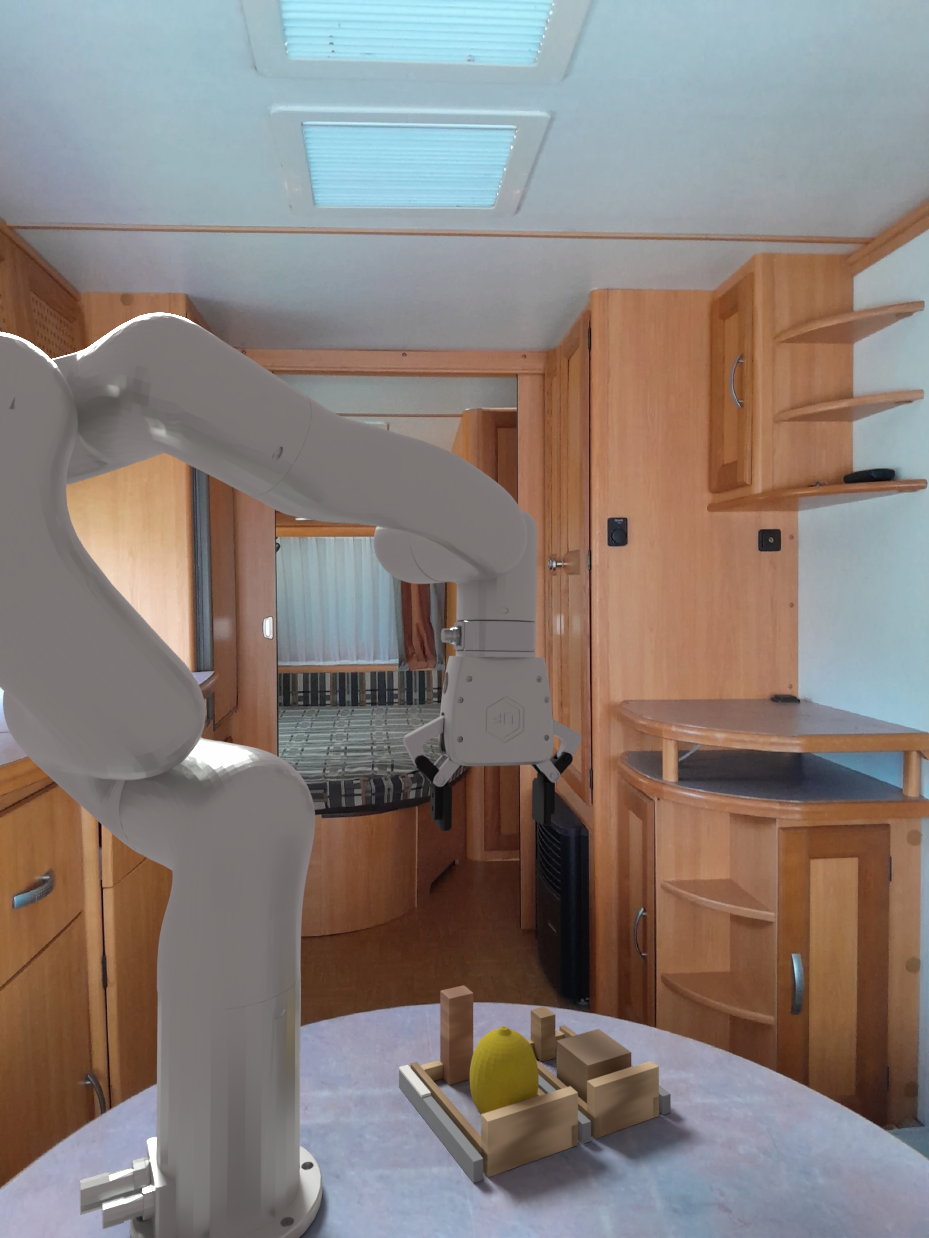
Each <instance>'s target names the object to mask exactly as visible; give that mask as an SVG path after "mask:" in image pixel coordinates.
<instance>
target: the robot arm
mask: <svg viewBox="0 0 929 1238" xmlns="http://www.w3.org/2000/svg"><path fill="white" fill-rule="evenodd" d="M162 454H166V455H169V456H171V457H173V458H175V459H177V460H179V461H181V462H183V463H185V464H187V465H189V466H190V467H192V468H194V469H196V470H199V471H201V472H203V473H205V474H206V475H208V476H210V477H212V478H214V479H217V480H218V481H220V482H223V483H224V484H226V485H228V486H230V487H231V488H233V489H236V490H238V491H240V492H241V493H243V494H245V495H247V496H248V497H250V498H253V499H255V500H256V501H258V502H260V503H262V504H264V505H265V506H268V507H270V508H272V509H273V510H275V511H277V512H279V513H281V514H285V515H287V516H293V517H296V518H299V519H300V518H302V519H306V520H312V521H319V522H323V523H335V524H354V525H363V526H365V525H366V526H372V527H373V526H374V527H375V530H374V535H373V549H374V553H375V556H376V558H377V560H378V562H379V564H380V566H381V567H382V568H383V569H384V570H385V571H386V572H387V573H388V574H389V575H391V576H392V577H393V578H396V579H397V580H400V581H402V582H405V583H408V584H415V585H425V584H426V585H428V584H440V583H450V582H451V583H455V585H456V616H455V617H456V621H455V622H454V623H453V625H452V626H450V627H449V628H447V627H446V628H441V630H440V631H441V632H440V641H441V643H447V644H448V643H449V645H452V647H453V650H455V655H449V656H448V659H447V665H446V669H445V673H444V678H443V684H442V685H443V686H442V694H441V700H440V701H441V702H440V711H439V716H438V717H436V718H434V719H432V720H431V721H429V722H427V723H425V724H423V725H422V726H419V727H418V728H415V729H413V730H412V731H410V732H409V733H407V734H405V735H404V736H403V737H402V744H403V746H404V747H405V749H406V752H407V754H408V755H409V757H410V759H411V761H412V765H413V766H415V768H416V769H417V770H418V771H419V772H420V773H421V774H422V775H423V776H424V777H425V778H426V779H427V780H428V781H429V782H430V811H429V812H430V817H431V820H432V821H435V825H436V826H437V827H438V828H439V829H440V830H441V831H442V832H450V830H452V828H453V827H452V821H453V819H452V817H453V816H452V815H453V788H452V787H451V786H450V785H449V780H450V779H451V777H452V776H453V774H455V772H456V771H457V770H458V768H459V767H460V766H465V767H496V766H498V767H502V766H526V765H527V766H530V767H531V768H532V769H533V770H534V772H535V773H536V777H534V778H533V780H532V783H531V784H532V785H531V787H532V788H531V789H532V790H531V792H532V793H531V794H532V795H531V818H532V820H534V821H535V822H537V823H538V824H540V825H542V826H545V827H547V826H548V827H550V826H551V825H552V815H554V814H555V811H556V810H555V809H556V806H555V805H556V783H557V782H559V780H560V779H561V775H562V774H563V773H564V772H566V771H565V770H566V769H568V767H569V766H570V765H571V764H572V763H573V760H574V759H573V758H574V755H575V754H576V752H577V750H578V748H579V746H580V744H581V742H582V740H583V739H582V735H581V734H580V733H579V732H577V731H575V730H573V729H572V728H569V727H568V726H566V725H564V724H562V723H560V722H559V721H557V720H556V719H553V709H552V708H553V707H552V697H551V696H552V695H551V689H550V681H549V676H548V669H547V665H546V659H545V657H541V656H540V657H539V656H536V651H537V650H536V648H537V645H536V644H537V642H536V641H537V638H536V637H537V632H536V631H537V629H536V628H537V622H536V621H537V579H538V578H537V575H538V573H537V566H538V565H537V563H538V562H537V561H538V560H537V559H538V557H537V556H538V555H537V553H538V526H537V522H536V521H535V519H534V517H533V516H532V515H531V514H530V513H529V512H527V511H523V510H522V509H521V508H520V506H519V503H517V501H516V500H515V498H514V497H513V496H512V494H510V493H509V492H508V491H507V490H506V489H505V488H504V487H503V486H502V485H501V484H499V483H498V482H497V481H496V480H495V479H493V478H492V477H490V476H489V475H488V474H486V473H485V472H483V471H482V470H481V469H479V468H478V467H476V466H475V465H473V464H472V463H470V462H469V461H467V460H466V459H465V458H463V457H461V456H459V455H458V454H456V453H454V452H451V451H449V450H448V449H445V448H443V447H440V446H437V445H435V444H433V443H430V442H427V441H424V440H420V439H418V438H414V437H411V436H408V435H404V434H401V433H397V432H394V431H392V430H388V429H385V428H382V427H380V426H377V425H374V424H369V423H367V422H361V421H357V420H353V419H351V418H346V417H343V416H341V415H339V414H337V413H335V412H333V411H331V410H330V409H328V408H327V407H325V406H323V405H322V404H321V403H319V402H317V401H316V400H314V399H312V398H311V397H309V395H307V394H305V393H303V392H302V391H300V390H299V389H297V388H296V387H294V386H293V385H291V384H290V383H288V382H287V381H285V380H284V379H282V378H280V377H279V376H277V375H276V374H274V373H273V372H272V371H270V370H268V369H267V368H265V367H264V366H262V365H261V364H259V363H258V362H257V361H255V360H253V359H252V358H250V357H249V356H247V355H245V354H244V353H242V352H241V351H240V350H238V349H236V348H234V347H233V346H231V345H230V344H229V343H227V342H225V341H224V340H222V339H221V338H219V337H218V336H216V335H215V334H213V333H212V332H211V331H208V330H207V329H206V328H204V327H202V326H200V325H199V324H198V323H195V322H193V321H191V320H190V319H188V318H185V317H182V316H179V315H176V314H171V313H165V312H153V313H147V314H143V315H139V316H137V317H135V318H132V319H131V320H129V321H127V322H124V323H122V324H121V325H119V326H117V327H116V328H114V329H113V330H111V331H110V332H108V333H107V334H106V335H104V336H102V337H101V338H99V339H98V340H97V341H95V342H94V343H93V344H91V345H90V346H88V347H87V348H85V349H82V350H79V351H77V352H73V353H70V354H67V355H63V356H59V357H56V358H52V359H51V358H50V357H49V356H48V355H47V354H46V353H45V352H44V351H43V350H41V349H40V348H39V347H37V346H35V345H34V344H33V343H31V342H30V341H28V340H26V339H24V338H22V337H19V336H18V335H14V334H11V333H9V332H7V333H6V332H3V331H2V332H1V331H0V689H1V690H2V691H3V695H2V711H3V716H4V720H5V723H6V726H7V728H8V730H9V733H10V734H11V737H12V738H13V740H14V741H15V742H16V744H17V745H18V747H19V749H21V751H22V752H24V754H25V755H26V756H27V757H28V758H29V759H30V760H31V761H32V762H33V763H34V764H35V765H36V766H37V767H38V768H40V770H41V771H43V773H45V775H47V776H48V777H49V778H50V779H52V781H53V782H54V783H56V784H57V785H58V786H59V787H60V788H61V789H62V790H63V791H64V792H65V793H67V795H68V796H70V797H71V798H72V799H73V800H74V801H75V802H76V803H78V804H79V805H80V806H81V807H82V808H83V809H85V811H86V812H87V813H89V815H91V816H92V817H93V818H94V819H95V820H97V822H98V823H100V824H101V826H103V827H104V828H105V829H106V830H107V831H109V832H110V833H111V834H112V835H113V836H114V837H115V838H117V839H118V840H119V841H121V842H122V843H123V844H124V845H126V846H127V847H129V848H130V849H131V850H133V851H134V852H135V853H137V854H139V855H141V856H143V857H144V858H147V859H148V860H151V861H153V862H155V863H157V864H159V865H161V866H164V867H166V868H167V869H169V870H171V872H172V881H171V889H170V894H169V899H168V902H167V905H166V910H165V913H164V916H163V920H162V922H161V923H162V924H161V929H160V932H159V938H158V939H159V940H158V948H157V958H156V959H157V961H156V966H157V967H156V992H157V1025H156V1026H157V1028H156V1031H157V1032H156V1034H157V1035H156V1036H157V1037H156V1038H157V1039H156V1040H157V1041H156V1042H157V1043H156V1044H157V1046H156V1047H157V1048H156V1049H157V1050H156V1056H157V1057H156V1136H154V1137H150V1138H148V1139H146V1156H143V1157H141V1158H140V1157H139V1158H137V1159H134V1160H131V1166H129V1167H126V1168H123V1169H119V1170H116V1171H113V1172H109V1171H107V1172H103V1173H100V1174H97V1175H93V1176H90V1177H85V1178H83V1179H80V1180H79V1214H80V1216H82V1215H85V1214H89V1213H92V1212H95V1211H99V1210H101V1224H102V1225H101V1227H102V1230H105V1229H109V1228H112V1227H115V1226H118V1225H121V1224H125V1222H127V1221H129V1234H130V1238H300V1237H301V1236H303V1235H304V1234H305V1233H306V1231H307V1230H308V1229H309V1228H310V1225H311V1224H312V1223H313V1221H315V1219H316V1216H317V1214H318V1211H319V1210H320V1208H321V1203H322V1196H323V1175H322V1171H321V1167H320V1165H319V1162H317V1159H316V1158H315V1156H314V1155H313V1154H311V1152H309V1150H308V1149H306V1148H305V1147H304V1146H301V1025H302V1024H301V1023H302V1022H301V1019H302V1018H301V1017H302V1015H301V1012H302V1011H301V1010H302V1009H301V1007H302V1006H301V1005H302V1004H301V1002H302V1001H301V999H302V998H301V997H302V996H301V995H302V994H301V993H302V992H301V991H302V989H301V986H302V983H301V982H302V981H301V980H302V975H301V974H302V973H301V972H302V971H301V961H302V959H301V957H302V956H301V952H302V951H301V949H302V947H301V946H302V944H301V943H302V918H303V917H302V916H303V903H304V897H305V896H304V895H305V888H306V880H307V876H308V869H309V865H310V860H311V855H312V851H313V845H314V841H315V840H314V839H315V831H316V829H315V828H316V812H315V805H314V800H313V797H312V794H311V791H310V788H309V786H308V785H307V783H306V781H305V780H304V777H302V775H301V774H300V773H299V772H298V771H297V770H296V769H295V768H294V767H293V765H291V764H290V763H289V762H287V761H286V760H284V759H283V758H281V757H280V756H278V755H276V754H273V753H272V752H269V751H266V750H264V749H261V748H257V747H252V746H248V745H243V744H242V745H241V744H238V743H233V742H232V743H231V742H227V741H226V742H225V741H221V740H213V739H209V738H208V739H207V738H203V737H202V736H203V731H204V729H205V724H206V703H205V698H204V694H203V692H202V691H203V690H202V689H201V687H200V685H199V683H198V681H197V678H196V677H195V676H194V674H193V673H192V671H191V669H190V668H189V667H188V665H187V664H186V663H185V662H184V661H183V660H182V658H181V657H179V656H178V654H176V652H174V650H173V649H172V648H171V647H170V645H168V644H167V643H166V642H165V640H163V639H162V637H161V636H160V635H159V634H158V633H157V632H156V631H155V630H154V629H153V627H152V626H151V625H150V624H149V623H148V622H147V621H146V620H145V619H144V617H143V616H142V615H141V614H140V612H138V611H137V609H135V607H134V606H132V604H131V603H130V602H129V601H128V600H127V599H126V597H124V595H122V593H121V592H120V591H119V590H118V589H117V588H116V587H115V585H114V584H113V583H112V582H111V580H110V579H109V578H108V576H106V573H104V571H103V570H102V569H101V568H100V567H99V565H98V564H97V563H96V561H95V560H94V559H93V558H92V557H91V555H90V554H89V552H88V551H87V550H86V548H85V547H84V545H83V543H82V541H81V540H80V538H79V537H78V534H77V532H76V530H75V527H74V525H73V523H72V519H71V515H70V511H69V507H68V501H67V500H68V499H67V486H68V485H71V484H74V483H78V482H81V481H85V480H89V479H91V478H94V477H98V476H100V475H101V476H102V475H104V474H107V473H110V472H113V471H116V470H120V469H122V468H125V467H128V466H131V465H134V464H136V463H140V462H143V461H146V460H149V459H152V458H155V457H157V456H160V455H162ZM437 736H438V750H439V753H440V756H439V757H438V758H437V759H436V760H435V762H434V763H433V762H432V761H431V760H430V759H429V758H428V757H427V754H426V753H425V750H424V748H423V747H424V744H425V743H426V742H429V741H430V740H431V739H433V738H436V737H437ZM554 737H556V738H558V739H559V740H560V745H559V749H558V751H556V752H555V753H554V754H553V752H554Z"/></svg>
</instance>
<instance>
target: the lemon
mask: <svg viewBox="0 0 929 1238" xmlns="http://www.w3.org/2000/svg"><path fill="white" fill-rule="evenodd" d="M473 1051H474V1053H473V1057H472V1060H471V1066H470V1079H469V1088H470V1094H471V1099H472V1100H473V1104H474V1106H475V1108H476V1109H477V1111H478V1112H479V1114H480V1115H481V1114H484V1113H487V1112H490V1111H493V1110H496V1109H500V1108H503V1107H506V1106H509V1105H512V1104H515V1103H519V1102H522V1101H525V1100H528V1099H531V1098H534V1097H537V1094H538V1081H539V1076H538V1066H537V1061H538V1060H537V1058H536V1057H535V1054H534V1052H533V1049H532V1047H531V1045H530V1044H529V1042H528V1041H527V1038H526V1037H524V1036H523V1035H522V1034H521V1033H519V1032H518V1031H516V1030H515V1029H511V1028H509V1027H508V1026H506V1025H501V1026H500V1027H499V1028H495V1029H492V1030H491V1031H488V1033H485V1035H483V1036H482V1037H481V1039H480V1040H479V1041H478V1043H477V1044H476V1047H475V1048H474V1050H473ZM536 1060H537V1061H536Z"/></svg>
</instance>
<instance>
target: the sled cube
mask: <svg viewBox="0 0 929 1238" xmlns="http://www.w3.org/2000/svg"><path fill="white" fill-rule="evenodd" d="M575 1035H578V1033H576V1032H575V1031H573V1030H572V1029H571V1028H569V1027H568V1026H567V1025H565V1024H563V1025H559V1029H558V1030H557V1031H556V1013H555V1012H553V1011H552V1010H550V1009H549V1008H547V1007H546V1006H541V1007H537V1008H533V1009H530V1038H528V1039H527V1038H526V1040H527V1041H528V1042H529V1044H530V1045H531V1047H532V1049H533V1052H534V1054H535V1057H536V1061H537V1066H538V1074H539V1075H540V1076H541V1077H542V1078H543V1079H544V1080H545V1081H547V1082H548V1083H549V1084H550V1085H551V1086H552V1087H553V1088H554V1089H555V1090H560V1089H563V1088H566V1087H567V1086H566V1085H565V1084H563V1083H562V1082H561V1081H560V1080H559V1079H558V1078H557V1076H555V1075H554V1073H552V1072H551V1071H550V1070H548V1069H547V1068H546V1067H545V1066H544V1065H543V1064H541V1063H542V1062H545V1061H548V1060H552V1059H555V1058H556V1059H557V1040H561V1039H564V1038H568V1037H572V1036H575ZM540 1062H541V1063H540ZM632 1066H633V1067H629V1068H626V1069H623V1070H620V1071H617V1072H614V1073H610V1074H607V1075H604V1076H601V1077H598V1078H595V1079H591V1080H588V1081H587V1104H586V1103H585V1102H584V1101H583V1100H582V1099H581V1098H580V1097H578V1110H579V1111H580V1112H581V1113H582V1114H583V1115H584V1116H586V1117H587V1118H588V1119H589V1120H590V1121H591V1138H592V1139H595V1140H596V1139H599V1138H602V1137H604V1136H607V1135H610V1134H613V1133H616V1132H618V1131H620V1130H624V1129H627V1128H630V1127H632V1126H635V1125H637V1124H640V1123H643V1122H646V1121H649V1120H652V1119H655V1118H656V1117H657V1118H658V1117H659V1116H660V1112H659V1086H660V1080H659V1079H660V1078H659V1077H660V1066H659V1065H657V1064H656V1063H654V1062H653V1061H652V1060H649V1061H645V1062H642V1063H638V1064H636V1065H632Z"/></svg>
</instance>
